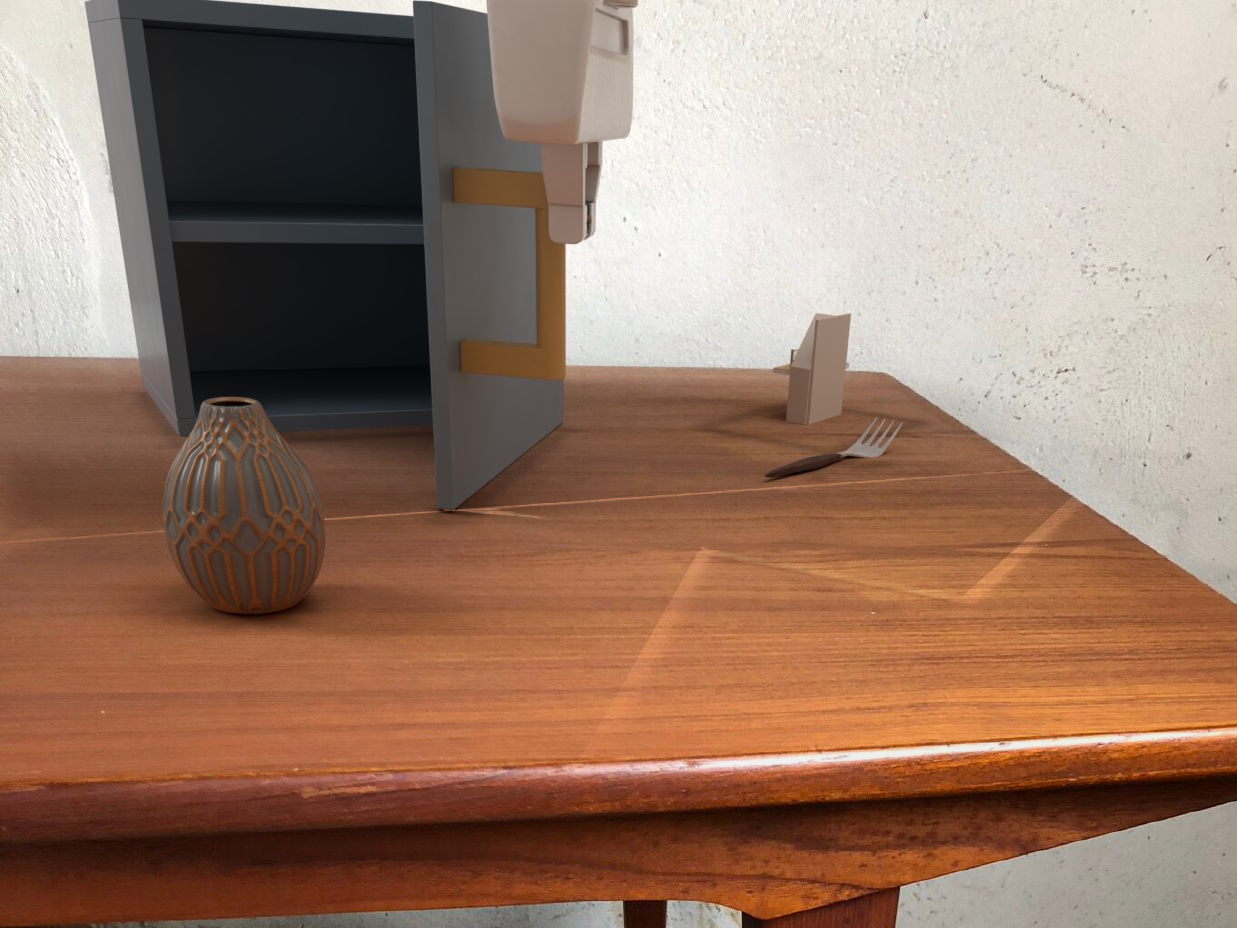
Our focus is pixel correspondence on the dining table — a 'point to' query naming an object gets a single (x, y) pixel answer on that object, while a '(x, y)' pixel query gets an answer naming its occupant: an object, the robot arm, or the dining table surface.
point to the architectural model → (818, 370)
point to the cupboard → (269, 207)
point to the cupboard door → (483, 264)
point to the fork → (854, 450)
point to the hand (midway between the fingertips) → (572, 240)
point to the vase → (243, 512)
